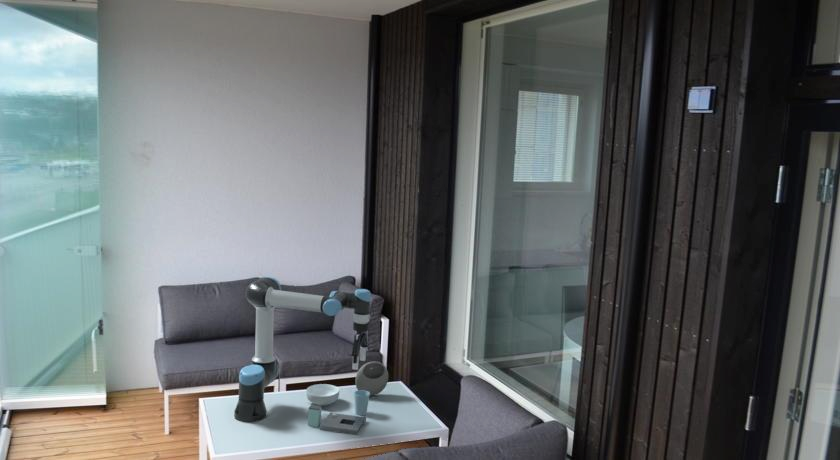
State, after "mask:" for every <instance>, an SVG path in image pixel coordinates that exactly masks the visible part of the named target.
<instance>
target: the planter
mask: <svg viewBox="0 0 840 460" xmlns="http://www.w3.org/2000/svg"><path fill="white" fill-rule="evenodd" d="M354 380H355V387H356V389H357V390H356V391H358V390H364V391H368V392H369V393H370V396H369V397H373V396H376V395H378V394H380V393H382V392H383V391H384V390H385V388H386V387H387V385H388V381H389V371H388V369H387V367H386V365H384V364H383V363H382V362H379V361H369V362H367V363H364V364H363V365H362V366H361V367H360V368H358V370H357V373H356V375H355V379H354Z"/></svg>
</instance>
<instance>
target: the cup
mask: <svg viewBox="0 0 840 460" xmlns="http://www.w3.org/2000/svg"><path fill="white" fill-rule="evenodd" d="M353 394H354V395H353V396H354V409H355V410H354V411H355V414H356V416H364V415H367V411H368V406H369V401H370V397H371V396H370V393H369V392H368V391H364V390H356V391H354V393H353Z"/></svg>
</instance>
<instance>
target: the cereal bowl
mask: <svg viewBox="0 0 840 460" xmlns="http://www.w3.org/2000/svg"><path fill="white" fill-rule="evenodd" d="M305 391H306V392H305V393H306V394H305V395H306V399H307V400H308V401H309V402H310V403H312V404H313V405H318V406H322V407H323V406H324V407H326V406H329V405H330V404H333V403H335V402H336V401H337V400H338V398H339V396H340V388H339V387H338V386H337V385H333V384H327V383H323V384H322V383H319V384H313V385H310V386H308V387H307V388H306V390H305Z"/></svg>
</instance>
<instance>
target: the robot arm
mask: <svg viewBox="0 0 840 460" xmlns="http://www.w3.org/2000/svg"><path fill="white" fill-rule="evenodd" d="M371 296H372V295H371V291H370V290H368V289H366V288H358V289H356V290H355V291H354V292H348V291H346V292H345V291H340V290H333V291H331V292H330V294H329V296H325V295H320V294H319V295H318V294H310V293H301V292H297V291H296V292H294V291H287V290H286V291H285V290H282V287H281V284H280V281H278V280H277V279H276V278H275V277H272V276H263V277H261V278H259V279H258V280H255V281H251V282H250V284H249V285H248V286H247V287H246V289H245V298H246V300H247V301H248V303H250V305H252V306H253V307H254V308H255V335H254V336H255V337H254V338H255V340H254V341H255V344H254V345H255V347H254V351H255V352H254V355H253V357H252V358H251V364H250V365H246V366H244V367H242V368H241V369H240V371H239V375H238V401H237V403H236V405H235V406H236V407H235V409H234V414H233V415H234V416H233V417H234V419H236V420H237V421H240V422H245V423H246V422H249V423H252V422H253V423H254V422H258V421H259V422H260V421H262V420H264V419H265V418H266V417H267V413H268V411H267V406H266V404H265V401H264V397H265V388H267V387H268V386H269V385H270V384H272V383H273V382H274V381H275V380H276V379H277V377H278V375H279V371H280V369H279V364H278V363H277V359H276V357H275V355H274V323H275V319H274V317H275V316H274V314H275V308H276V307H279V308H286V309H295V310H302V311H309V312H314V313H315V312H318V313H322V314H323V313H324V314H325V315H326V316H329V317H330V316H331V317H332V316H336V315H338V314H340V313H341V311H342V310H344V309H350V310H353V318H352V319H353V320H352V321H353V324H352V330H353V331H354V332H356V334H354V336H353V337H354V338H353V339H354V340H353V344H352V350H351V354H350V356H351V357H352V364H351V365H352V366H351V368H352V370H354V371H356V370H357V371H359V361H362V362H366V358H367V357H366V354H367V348H369V345H368V331H369V329H370V319H371V315H370V314H371V302H372V299H371Z"/></svg>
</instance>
